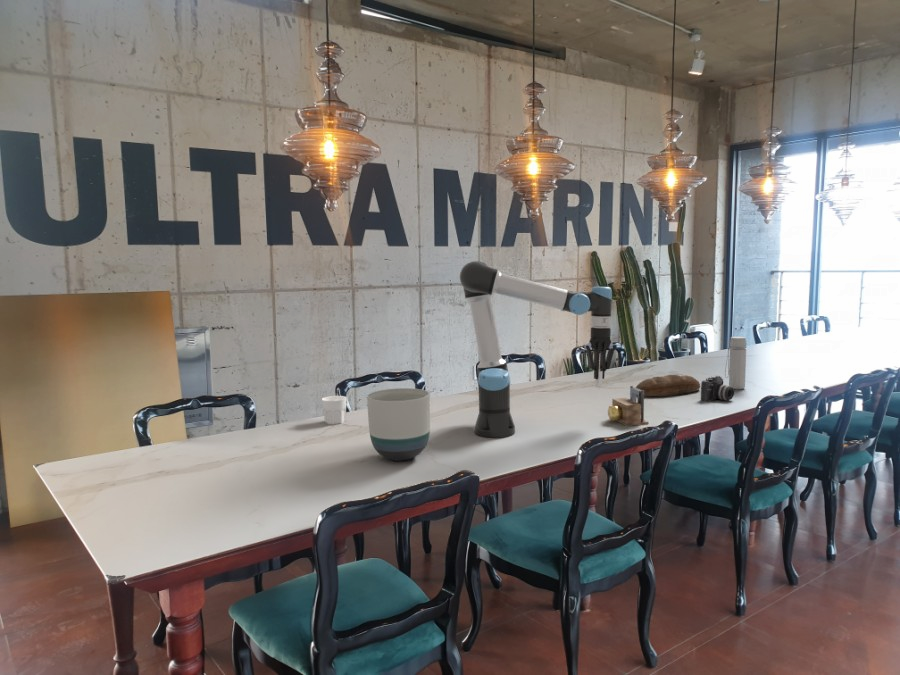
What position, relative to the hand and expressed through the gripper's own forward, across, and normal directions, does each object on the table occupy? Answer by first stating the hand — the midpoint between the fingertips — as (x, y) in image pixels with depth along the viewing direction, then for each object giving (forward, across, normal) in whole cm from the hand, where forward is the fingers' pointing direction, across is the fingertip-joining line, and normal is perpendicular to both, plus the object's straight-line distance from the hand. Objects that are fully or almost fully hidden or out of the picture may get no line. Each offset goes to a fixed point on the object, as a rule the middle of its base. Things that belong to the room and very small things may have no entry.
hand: (598, 387), depth 236 cm
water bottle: (+13, +91, +43) cm, 101 cm away
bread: (+14, +56, +44) cm, 72 cm away
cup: (+18, -101, +33) cm, 108 cm away
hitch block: (+14, +14, 0) cm, 20 cm away
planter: (+17, -80, -22) cm, 85 cm away
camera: (+13, +68, +23) cm, 73 cm away
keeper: (+8, +16, 0) cm, 18 cm away
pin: (+13, +12, 0) cm, 18 cm away
